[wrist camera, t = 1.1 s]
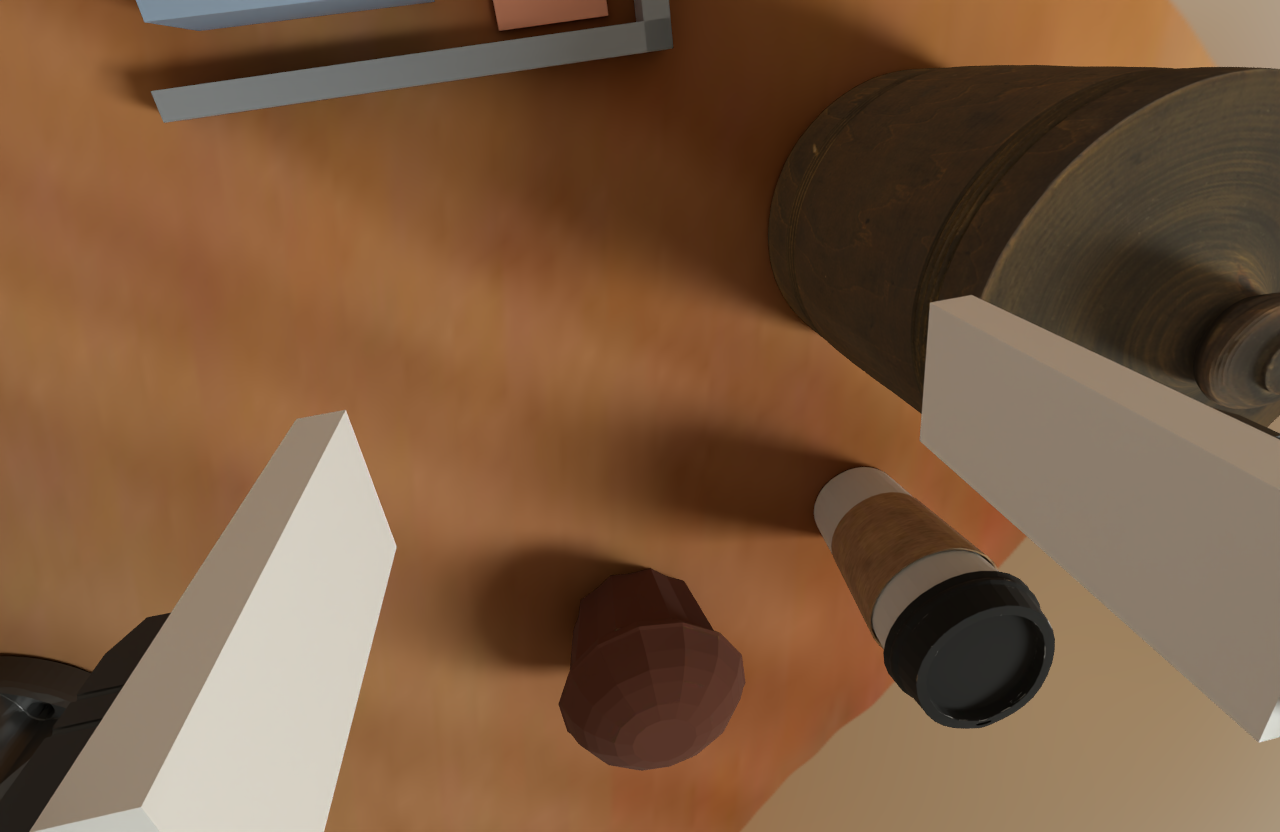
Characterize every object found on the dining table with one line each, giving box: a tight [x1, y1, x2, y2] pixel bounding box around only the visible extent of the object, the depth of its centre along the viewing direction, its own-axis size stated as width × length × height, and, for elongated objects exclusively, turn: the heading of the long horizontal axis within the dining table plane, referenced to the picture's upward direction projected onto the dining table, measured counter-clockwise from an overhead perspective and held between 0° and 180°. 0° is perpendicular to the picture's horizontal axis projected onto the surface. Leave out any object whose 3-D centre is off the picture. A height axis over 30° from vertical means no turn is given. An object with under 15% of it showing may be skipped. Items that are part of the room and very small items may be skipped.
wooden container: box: [768, 65, 1280, 427], centre depth 28 cm, size 15×15×22 cm
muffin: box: [559, 568, 745, 770], centre depth 43 cm, size 12×11×10 cm
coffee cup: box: [814, 467, 1055, 728], centre depth 40 cm, size 8×8×15 cm
